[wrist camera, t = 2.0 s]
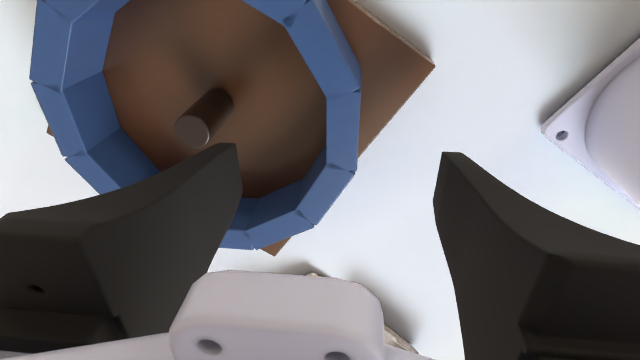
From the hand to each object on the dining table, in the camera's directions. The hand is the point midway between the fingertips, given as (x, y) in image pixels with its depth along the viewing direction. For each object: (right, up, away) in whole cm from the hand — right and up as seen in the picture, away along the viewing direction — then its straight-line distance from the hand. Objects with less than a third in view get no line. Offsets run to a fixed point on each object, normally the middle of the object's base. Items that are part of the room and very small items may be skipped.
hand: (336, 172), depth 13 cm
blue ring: (-6, +4, +6) cm, 9 cm away
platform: (-6, +4, +7) cm, 10 cm away
